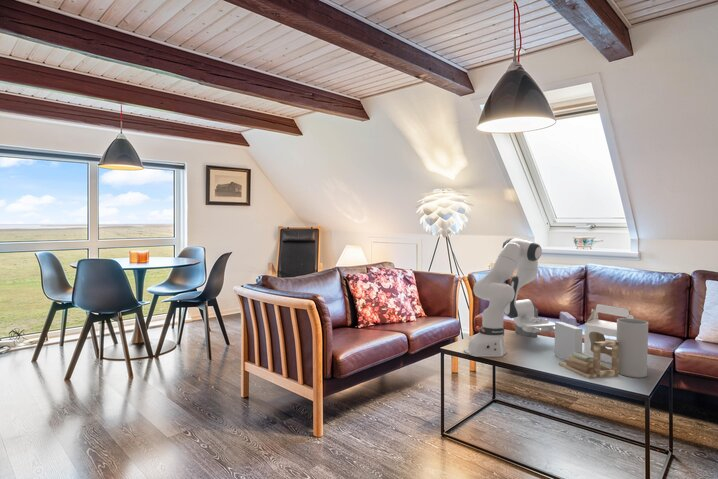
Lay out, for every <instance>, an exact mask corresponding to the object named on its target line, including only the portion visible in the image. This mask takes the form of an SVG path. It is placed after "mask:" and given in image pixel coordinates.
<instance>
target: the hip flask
mask: <svg viewBox="0 0 718 479" xmlns="http://www.w3.org/2000/svg"><path fill="white" fill-rule="evenodd" d="M538 314H539V310H538V308H536V313H535V318H538V317H539V315H538ZM514 326H515V327H514V330H515V331H514V332H515V334H518V335H521V336H522V335H523V336H526V337H531V338H538V332H537V333H533V332H526V331H524V330H523V329H522V328H521V327H519V326H517V325H516V324H515V323H514Z"/></svg>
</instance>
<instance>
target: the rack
mask: <svg viewBox="0 0 718 479" xmlns="http://www.w3.org/2000/svg"><path fill="white" fill-rule="evenodd" d="M601 346H605V347H606V346H607V347H609V346H611V349H612V363H611V367H610V366H609V365H606V364H603V363H601V360H600V353H601ZM566 363H567V361H566V360H562V361H558V365H559V366H561V367H564V368H565V369H568V370H569V371H572V372H574V373H576V374H578V375H579V376H582V377H584V378H586V379H594V378H595V379H596V378H605V377H607V378H608V377H618V376H619V373H618V371H619V341H617V340H605V341H601V342H594V355H593V368H594V373H591V374H585V373H582V372H580V371H578V370H576V369H574V368H572V367H570V366H567V365H566Z"/></svg>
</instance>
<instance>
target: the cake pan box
mask: <svg viewBox="0 0 718 479" xmlns="http://www.w3.org/2000/svg"><path fill="white" fill-rule="evenodd" d="M558 322H564V323H567V324H570V325H573V326H576V327H577V318H575V317H574V316H573V315H572V314H570V313H569V312H568V311H559V321H558Z"/></svg>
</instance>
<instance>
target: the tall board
mask: <svg viewBox="0 0 718 479" xmlns="http://www.w3.org/2000/svg"><path fill="white" fill-rule="evenodd" d="M554 323H555V331H554V356H555V357H557V358H560V359H561V360H563V361H567V360H569V355H572V352H582V353H583V328H582V327H578V326H577V325H576V326H573V325H570V324H567V323H564V322H559V321H555V322H554Z"/></svg>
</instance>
